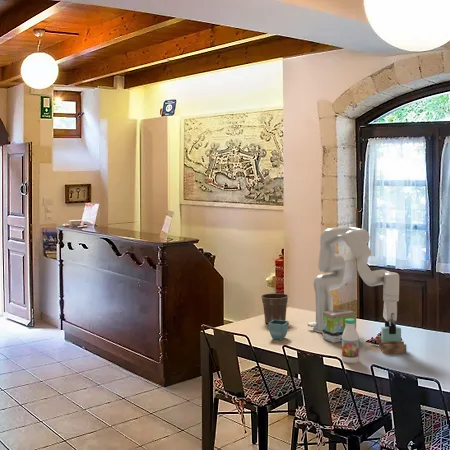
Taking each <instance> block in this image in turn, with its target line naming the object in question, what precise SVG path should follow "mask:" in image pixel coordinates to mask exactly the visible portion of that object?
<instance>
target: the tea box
mask: <svg viewBox="0 0 450 450" xmlns="http://www.w3.org/2000/svg"><path fill="white" fill-rule="evenodd" d="M348 318H351V319H355V329H356V330H357V312H356V311H353V310H350V309H346V308H343V309H337V310H334V309H333V311H327V312H323V333H322V339H323V340H326V341H327V342H330V343H333V344H334V343H338V342H342V335H343V332H344V329H345V326H346V324H345V319H348Z"/></svg>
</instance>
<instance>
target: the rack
mask: <svg viewBox="0 0 450 450" xmlns="http://www.w3.org/2000/svg"><path fill="white" fill-rule="evenodd" d="M378 341H379V347H378V348H379V350H380V351H381V353H382V354H383V355H402V354H403V355H407V344H406V343H405V341H403V340H401V341H393V342H381V335H376V343H377V342H378Z"/></svg>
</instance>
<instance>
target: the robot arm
mask: <svg viewBox="0 0 450 450" xmlns="http://www.w3.org/2000/svg"><path fill="white" fill-rule="evenodd" d="M319 238H320V239H319V248H320V249H319V256H318V270H319V271H320V272H321V273H322V274H318V275H317V276H315V278H314V279H313V288H314V294H315V320H314V322H307V327H309V328H312V329H313V332H317V333H322V334H323V312H327V311H334V305H333V304H334V303H333V301H334V299H333V295H332V294H331V291H334V290H338V289H340V288H341V287H342V286H343V284H344V278H345V271H346V262H345V259H344V257H343V255H341V254H338V253H336V252H337V250H336V249H337V248H336V245H335V244H342V243H343V244H346V246H347V247H348V249H349V250H350V251H351V253H352V254H353V256H354V257H355V258H356V270H357V272H358V275H359V276H360V279H362V281H363V282H364V284H366V285H367V286H369V287H376V286H382V285H383V288H382V291H383V292H382V301H383V312H382V317H383V318H384V320H385V321H384V327H389V334H396V327H397V318H398V302H400V301H399V300H400V274H399V273H397V272H393V271H389V270H386V269H376V270H371V268H370V267H369V265H368V262H367V259H369V258H370V257H371V255H372V250H371V248H370V247H369V246H368V244H369V242H370V240H371V237H370V233H369V232H368V231H367V230H366V229H365V228H360V227H359V228H358V227H352V226H339V227H330V228H327V229H324V230H322V232H321V234H320V236H319Z"/></svg>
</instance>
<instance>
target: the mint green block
mask: <svg viewBox="0 0 450 450" xmlns="http://www.w3.org/2000/svg"><path fill="white" fill-rule="evenodd" d="M380 328H381V331H380V332H381V335H380V336H381V342H393V341H402V327H401V326H396V334H389V327H385V326H381V327H380Z"/></svg>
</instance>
